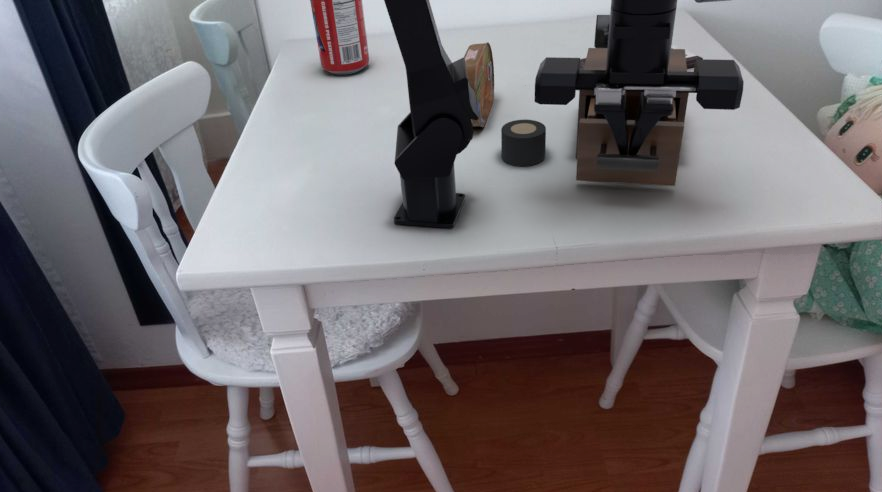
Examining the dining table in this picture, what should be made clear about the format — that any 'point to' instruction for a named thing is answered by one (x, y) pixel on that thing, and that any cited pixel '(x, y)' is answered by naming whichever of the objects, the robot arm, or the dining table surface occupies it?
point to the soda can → (340, 35)
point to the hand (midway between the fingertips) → (626, 162)
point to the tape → (523, 142)
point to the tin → (481, 79)
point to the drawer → (608, 165)
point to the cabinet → (598, 62)
